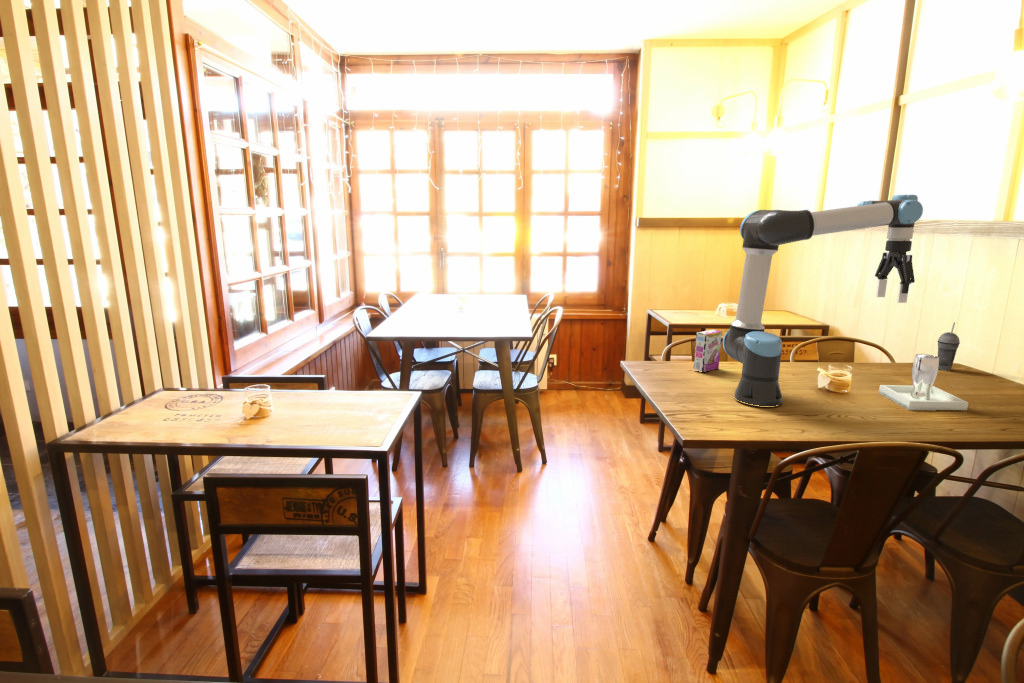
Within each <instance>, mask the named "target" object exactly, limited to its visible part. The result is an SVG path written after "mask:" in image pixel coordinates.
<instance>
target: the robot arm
mask: <svg viewBox="0 0 1024 683" xmlns="http://www.w3.org/2000/svg"><path fill="white" fill-rule="evenodd" d="M923 207H924V206H923V204H922V203H921V202H920V201H919V197H918V195H917V194H895V195H892V197H891V200H864V201H861V202H859V203H858V204H857V205H856V206H847V207H841V208H833V209H827V210H819V211H811V210H809V209H803V210H783V209H782V210H781V209H759V210H755V211H752V212H750V213H748V214H747V215H746V216H744V218H743V219H742V222H741V224H740V226H739V232H740V236H741V238H742V239H743V240H742V248H741V249H742V250H743V251H744V252H745V258H744V263H743V264H744V266H743V270H742V278H741V283H740V291H739V296H738V303H737V309H736V315H735V319H734V320H733V321H731V322H730V326H729V329H728V330H727V331H726V332H725V333H724V335H723V337H722V347H723V350H724V352H725V353H726V354H727V355H728V356H729V357H730V358H731V359H733V360H735V361H737V362H739V363H741V364H742V370H741V378H740V381H739V382H738V385H737V387H736V389H735V391H734V397H735V398H736V399H737V400H739V401H742V402H745V403H748V404H753V405H759V406H776V405H780V404H781V403H782V404H783V395H782V390H781V388H780V383H779V378H780V377H779V376H780V371H781V370H780V368H781V359H782V353H783V341H782V339H781V338H780V336H778V335H776V334H775V333H771V332H770V333H769V332H768V331H765V326H764V325H763V323H762V318H763V313H764V307H765V306H764V305H765V301H766V296H767V288H768V284H769V277H770V272H771V266H772V265H771V264H772V260H773V255H775V254H776V253H777V252H778V251H779V246H780V245H781V246H782V245H785V244H790V243H795V242H800V241H806V240H810V239H812V237H813V236H819V235H826V234H827V235H828V234H833V233H841V232H848V231H856V230H863V229H870V228H875V227H883V226H888V227H887V233H886V239H887V240H886V241H885V249H884V250H885V251H886V252H883V253H882V257H881V260H880V262H879V264H878V267H877V270H876V271H875V274H874V276H875V278H877V288H876V295H875V297H876V298H885V297H886V291H887V284H888V279H889V278H888V276H889V275H890V273H891V272H892V270H893V269H894V268H895V269H897V273H898V276H899V279H900V282H899V285H898V286H899V287H898V293H897V301H896V303H900V304H901V303H904V304H906V303H908V302H907V301H908V294H909V289H910V285H912V284H914V283H915V280H916V279H915V275H914V274H915V273H914V268H913V255H912V254H907V252H910V251H911V250H912V246H913V244H912V243H913V242H912V239H913V235H914V232H915V230H914V229H915V223H916V222H917V221H919V220H920V219H921V218H922V215H923V212H924V208H923ZM735 398H734V399H735ZM782 404H781V405H782ZM781 405H780V406H781Z"/></svg>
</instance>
